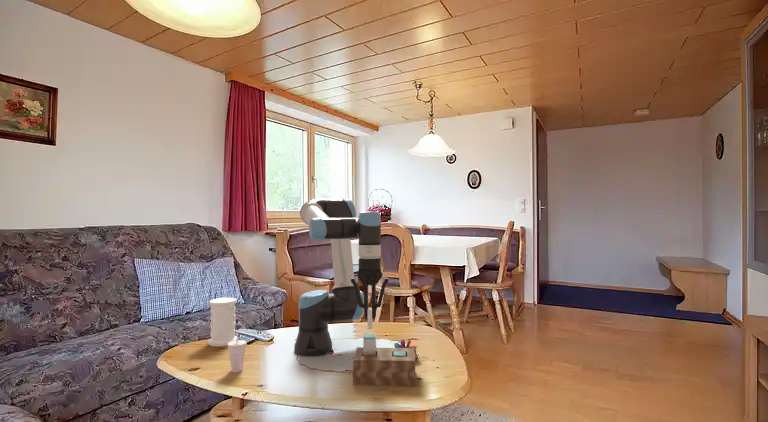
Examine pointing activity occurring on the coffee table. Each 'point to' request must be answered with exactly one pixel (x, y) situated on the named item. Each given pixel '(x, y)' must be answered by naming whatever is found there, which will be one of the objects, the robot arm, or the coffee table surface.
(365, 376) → the socket block
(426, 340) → the coffee table surface
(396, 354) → the peg
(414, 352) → the rainbow disc car
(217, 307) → the decorative container
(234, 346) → the smoothie
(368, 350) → the peg
